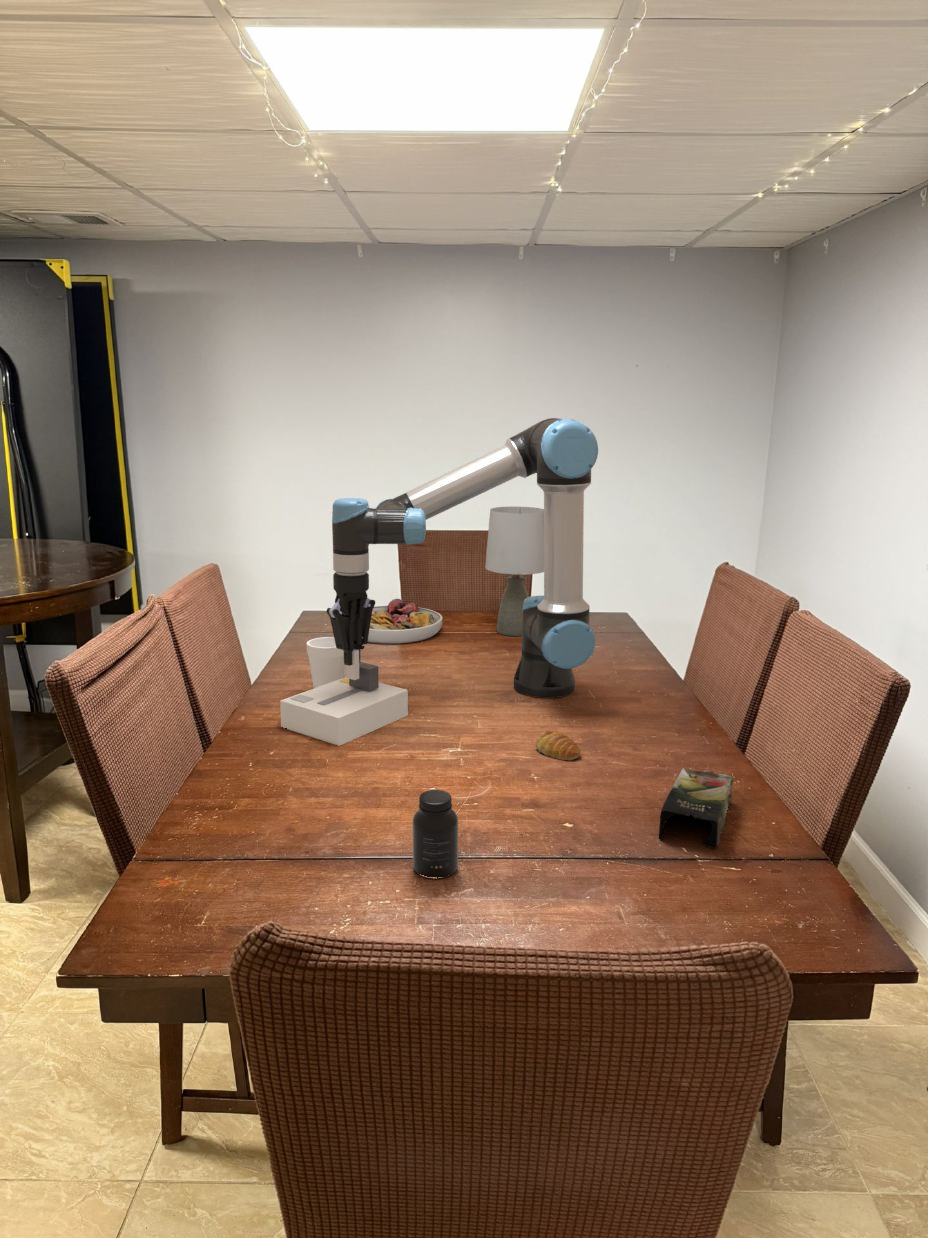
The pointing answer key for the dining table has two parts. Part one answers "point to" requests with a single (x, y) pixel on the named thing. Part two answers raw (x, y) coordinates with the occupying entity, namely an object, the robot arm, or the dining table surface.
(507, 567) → the lamp
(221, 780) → the dining table surface
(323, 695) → the switch panel
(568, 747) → the pastry
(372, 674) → the knob
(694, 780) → the juice carton
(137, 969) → the dining table surface
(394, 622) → the bowl
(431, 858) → the supplement bottle
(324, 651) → the foam cup
